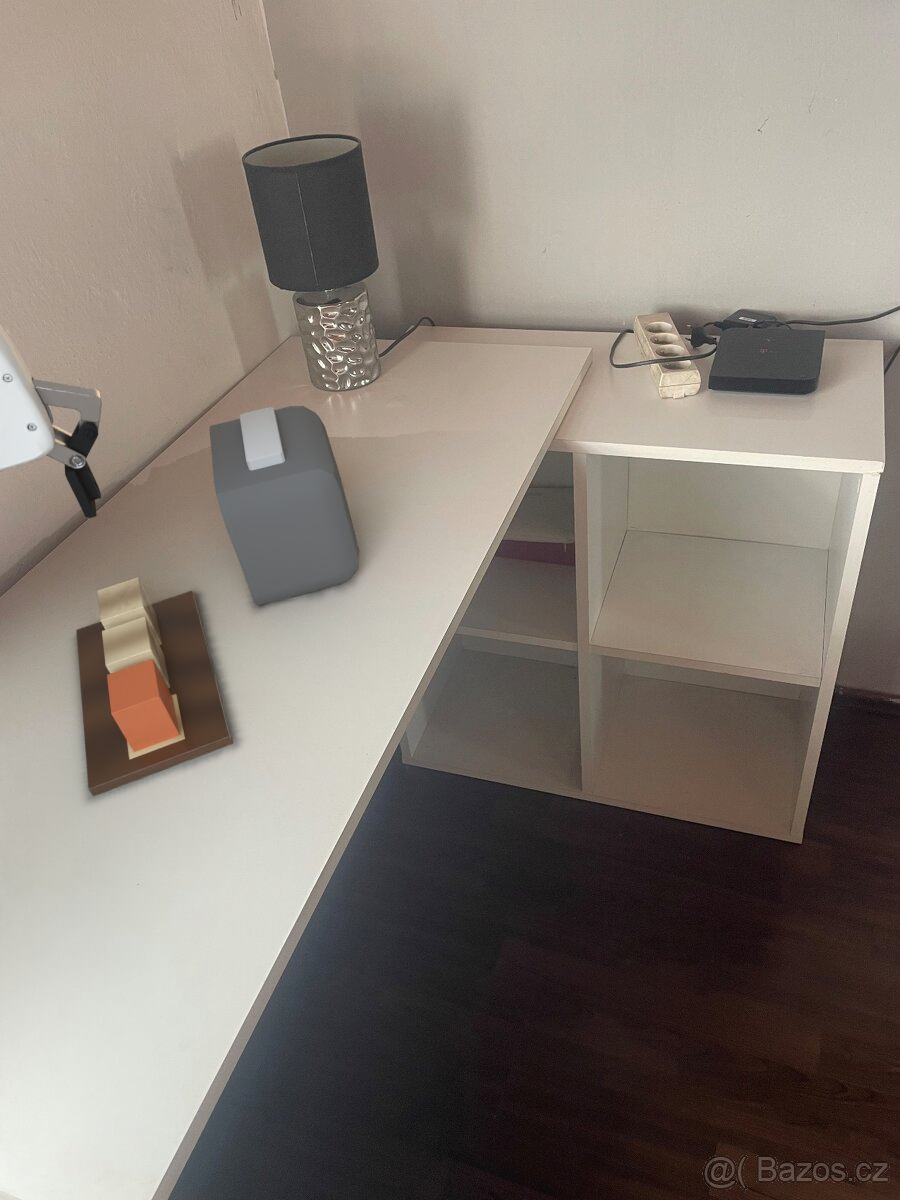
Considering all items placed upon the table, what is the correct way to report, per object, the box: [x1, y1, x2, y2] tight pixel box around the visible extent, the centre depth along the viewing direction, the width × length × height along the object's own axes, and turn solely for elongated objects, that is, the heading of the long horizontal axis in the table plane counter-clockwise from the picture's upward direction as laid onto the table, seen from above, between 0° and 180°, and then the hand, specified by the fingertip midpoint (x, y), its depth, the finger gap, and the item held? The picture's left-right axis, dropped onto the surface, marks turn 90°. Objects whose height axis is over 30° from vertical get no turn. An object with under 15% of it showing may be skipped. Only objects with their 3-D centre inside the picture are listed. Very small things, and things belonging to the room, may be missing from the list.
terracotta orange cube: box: [107, 659, 180, 752], centre depth 74 cm, size 5×4×5 cm
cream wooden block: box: [102, 617, 170, 689], centre depth 79 cm, size 5×4×5 cm
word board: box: [75, 590, 233, 797], centre depth 81 cm, size 22×12×1 cm, turn 21°
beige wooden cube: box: [96, 576, 162, 645], centre depth 84 cm, size 5×4×5 cm
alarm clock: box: [209, 405, 360, 607], centre depth 88 cm, size 16×11×16 cm
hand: (25, 528), depth 63 cm, fingers open, 9 cm apart
